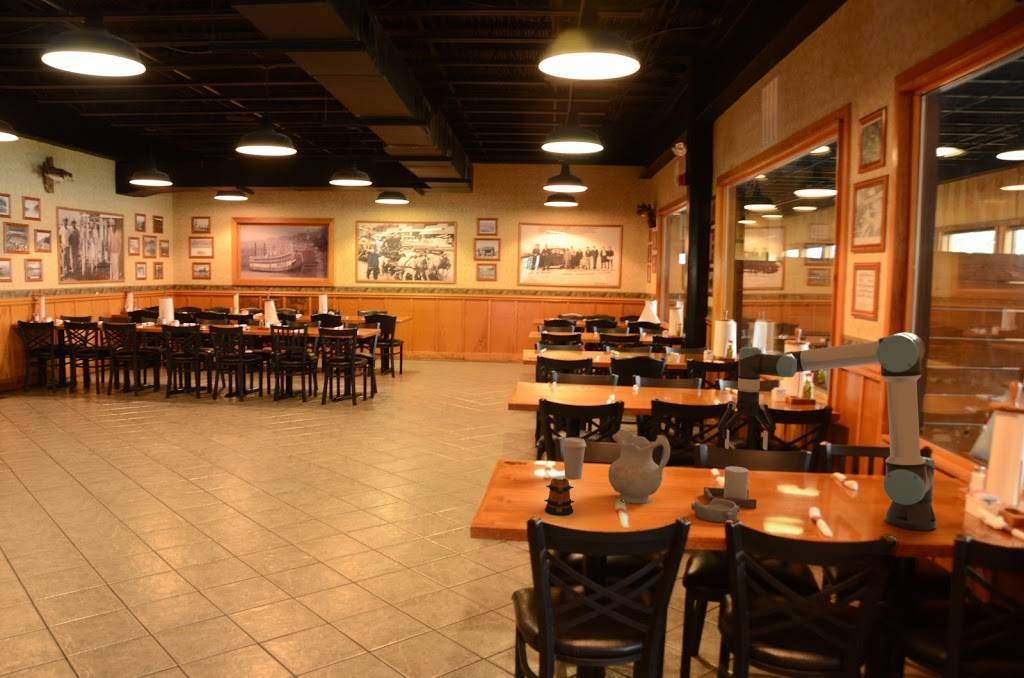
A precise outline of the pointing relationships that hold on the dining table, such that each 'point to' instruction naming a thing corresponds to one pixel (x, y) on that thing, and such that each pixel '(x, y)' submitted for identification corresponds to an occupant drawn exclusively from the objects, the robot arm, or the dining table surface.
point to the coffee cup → (573, 457)
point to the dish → (716, 510)
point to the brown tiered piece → (559, 498)
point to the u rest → (719, 494)
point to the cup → (736, 482)
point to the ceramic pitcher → (637, 467)
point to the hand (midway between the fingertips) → (745, 448)
